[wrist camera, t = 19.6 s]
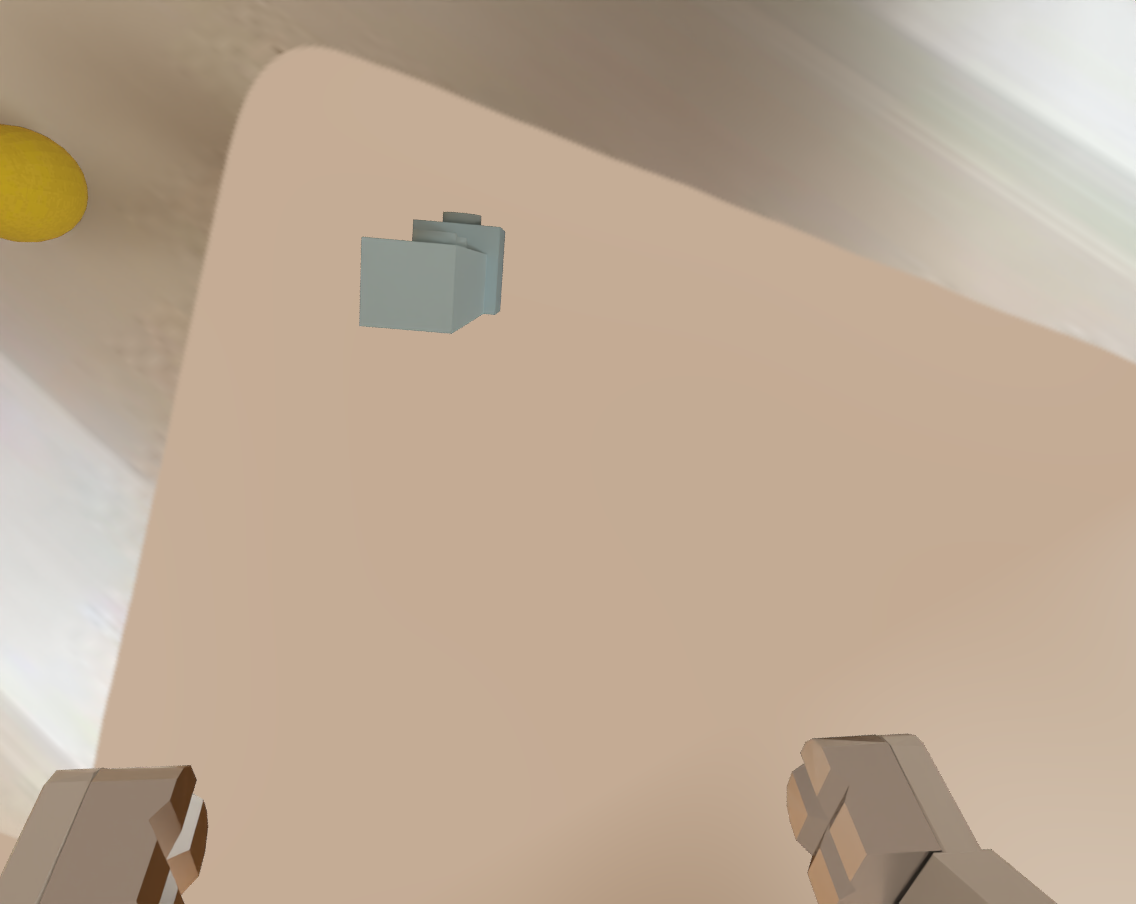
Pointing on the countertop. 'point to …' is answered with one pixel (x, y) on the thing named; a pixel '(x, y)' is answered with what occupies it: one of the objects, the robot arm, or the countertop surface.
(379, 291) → the beam
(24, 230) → the lemon
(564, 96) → the countertop surface
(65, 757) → the countertop surface
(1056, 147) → the countertop surface
